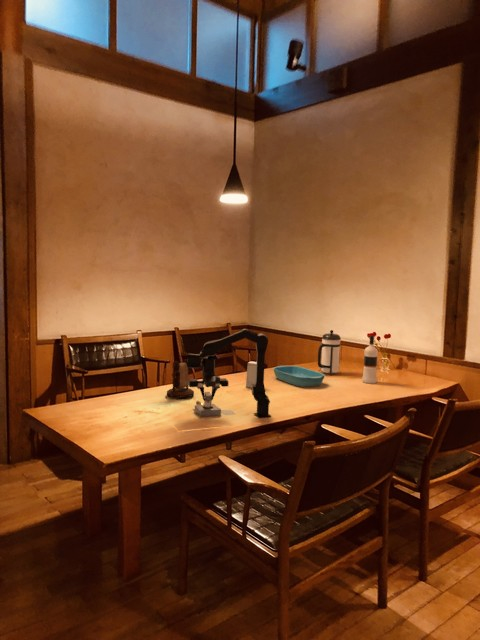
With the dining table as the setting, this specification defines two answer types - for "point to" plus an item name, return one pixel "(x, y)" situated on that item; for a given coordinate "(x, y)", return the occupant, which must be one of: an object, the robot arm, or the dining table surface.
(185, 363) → the brown pedestal sculpture
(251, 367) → the skincare box
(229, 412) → the mat
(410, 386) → the dining table surface
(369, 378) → the vodka
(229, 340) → the robot arm
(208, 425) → the dining table surface
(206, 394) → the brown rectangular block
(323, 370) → the coffee press
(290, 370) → the casserole dish
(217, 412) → the block
